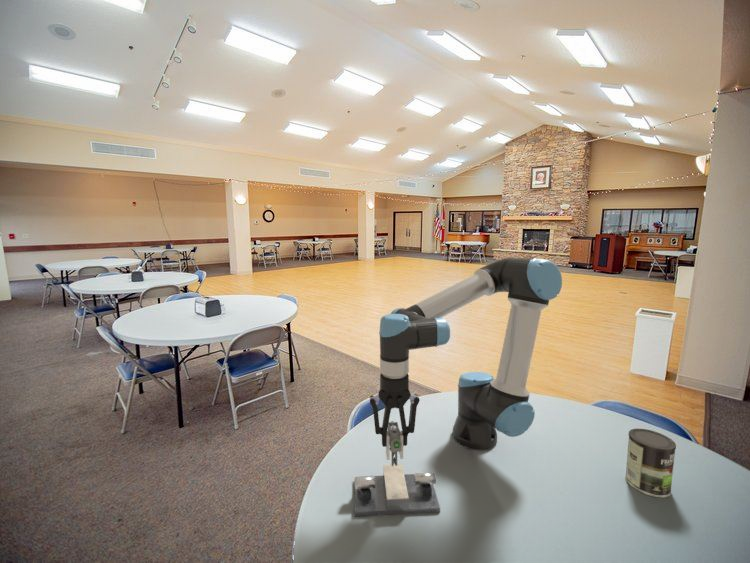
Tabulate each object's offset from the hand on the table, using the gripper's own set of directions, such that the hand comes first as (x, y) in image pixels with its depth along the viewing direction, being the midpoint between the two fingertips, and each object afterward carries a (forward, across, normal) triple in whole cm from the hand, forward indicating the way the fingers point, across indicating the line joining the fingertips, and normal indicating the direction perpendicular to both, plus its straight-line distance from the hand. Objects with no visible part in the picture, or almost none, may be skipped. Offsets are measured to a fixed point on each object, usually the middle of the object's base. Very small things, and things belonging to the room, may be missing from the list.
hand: (394, 456), depth 92 cm
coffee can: (+12, -72, 0) cm, 73 cm away
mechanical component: (+3, 0, 0) cm, 3 cm away
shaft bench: (+12, 0, 0) cm, 12 cm away
